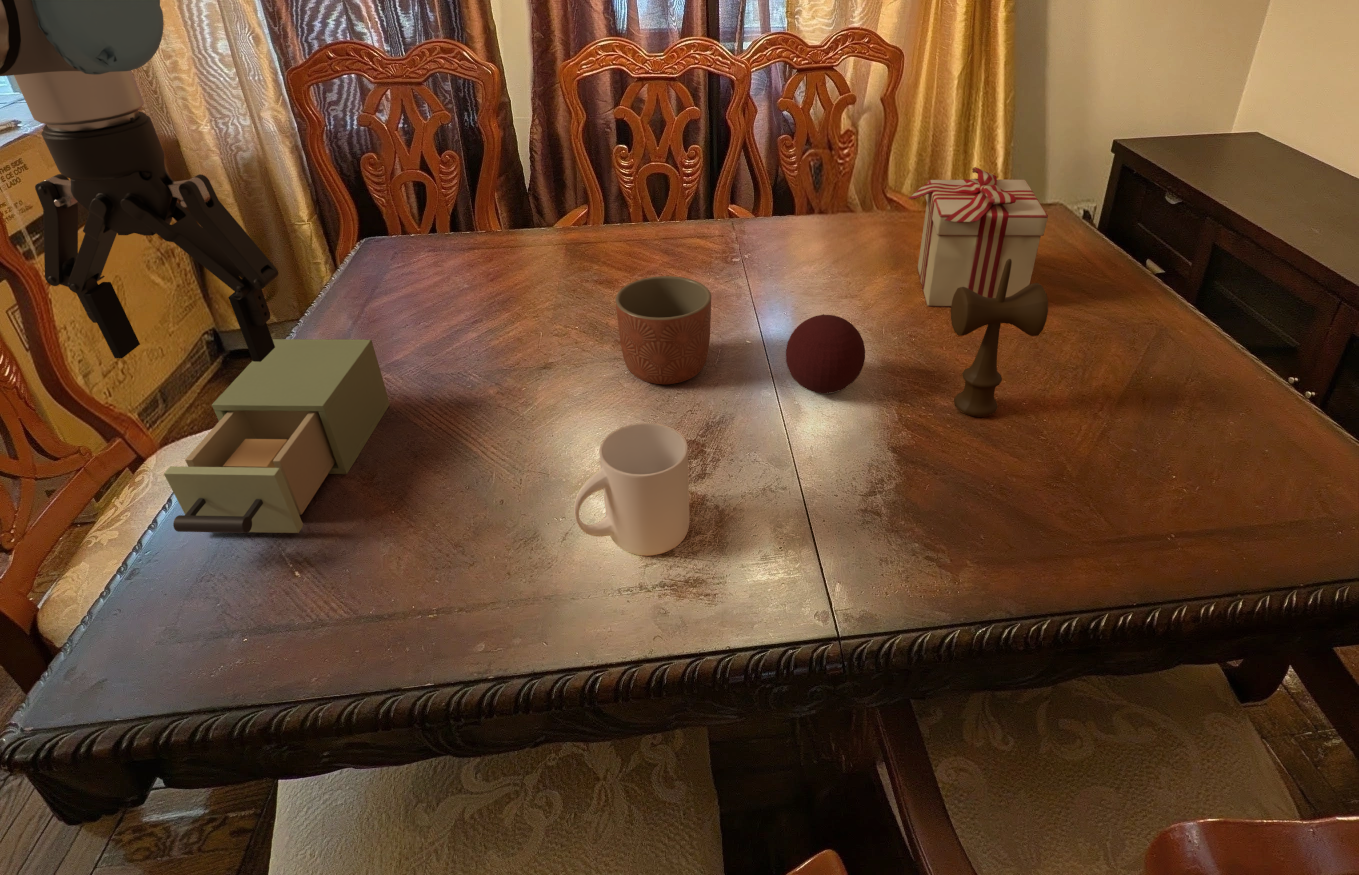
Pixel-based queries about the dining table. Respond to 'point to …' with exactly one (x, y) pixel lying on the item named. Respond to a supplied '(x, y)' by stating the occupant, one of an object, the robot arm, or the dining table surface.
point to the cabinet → (317, 390)
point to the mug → (641, 489)
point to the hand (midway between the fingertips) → (195, 353)
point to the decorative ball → (825, 354)
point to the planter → (664, 328)
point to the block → (256, 453)
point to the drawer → (252, 475)
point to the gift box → (977, 236)
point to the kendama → (993, 335)
